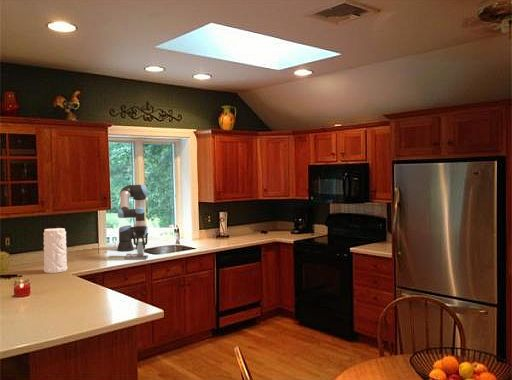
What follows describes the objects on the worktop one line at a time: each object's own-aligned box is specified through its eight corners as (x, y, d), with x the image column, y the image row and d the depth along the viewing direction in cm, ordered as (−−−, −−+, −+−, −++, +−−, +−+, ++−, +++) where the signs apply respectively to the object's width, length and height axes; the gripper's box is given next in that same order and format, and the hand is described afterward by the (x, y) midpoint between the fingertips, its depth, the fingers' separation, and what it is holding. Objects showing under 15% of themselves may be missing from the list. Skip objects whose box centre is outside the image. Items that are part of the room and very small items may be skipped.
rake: (139, 257, 384) (138, 241, 383) (143, 257, 384) (143, 241, 383) (137, 258, 379) (137, 242, 379) (142, 258, 379) (142, 242, 379)
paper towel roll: (43, 274, 330) (42, 231, 328) (43, 270, 344) (42, 228, 343) (68, 272, 337) (67, 229, 336) (67, 267, 352) (66, 227, 350)
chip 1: (127, 258, 383) (127, 253, 383) (132, 258, 383) (132, 253, 383) (126, 259, 379) (126, 254, 379) (130, 259, 379) (130, 254, 379)
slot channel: (127, 259, 386) (126, 255, 386) (147, 259, 386) (147, 255, 386) (124, 261, 377) (124, 257, 377) (145, 261, 377) (145, 257, 377)
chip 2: (133, 258, 383) (133, 253, 383) (137, 258, 383) (137, 253, 383) (132, 259, 379) (131, 254, 379) (136, 259, 379) (136, 254, 379)
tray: (109, 259, 387) (109, 255, 386) (127, 259, 387) (127, 255, 387) (105, 261, 376) (105, 258, 375) (123, 261, 376) (123, 258, 376)
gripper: (129, 226, 377) (129, 253, 378) (149, 226, 377) (149, 253, 378) (131, 225, 384) (131, 252, 385) (150, 224, 384) (151, 252, 385)
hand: (140, 252), depth 381 cm, fingers closed on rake, 3 cm apart
